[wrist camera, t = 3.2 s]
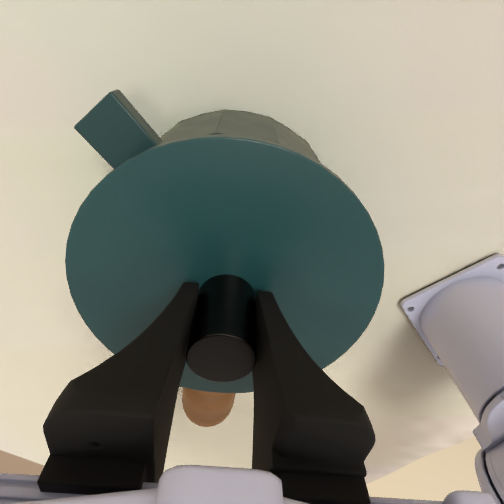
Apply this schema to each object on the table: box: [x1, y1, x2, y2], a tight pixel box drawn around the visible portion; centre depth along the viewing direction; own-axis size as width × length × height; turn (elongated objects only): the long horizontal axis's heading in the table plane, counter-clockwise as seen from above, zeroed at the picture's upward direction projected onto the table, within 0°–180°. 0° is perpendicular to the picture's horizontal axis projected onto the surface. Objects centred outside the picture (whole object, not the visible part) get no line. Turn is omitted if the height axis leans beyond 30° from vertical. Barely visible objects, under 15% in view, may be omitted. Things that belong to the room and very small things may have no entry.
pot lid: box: [65, 134, 384, 393], centre depth 14 cm, size 14×14×5 cm
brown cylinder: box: [182, 387, 235, 427], centre depth 29 cm, size 8×5×5 cm, turn 171°
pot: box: [74, 90, 320, 169], centre depth 20 cm, size 13×19×6 cm
